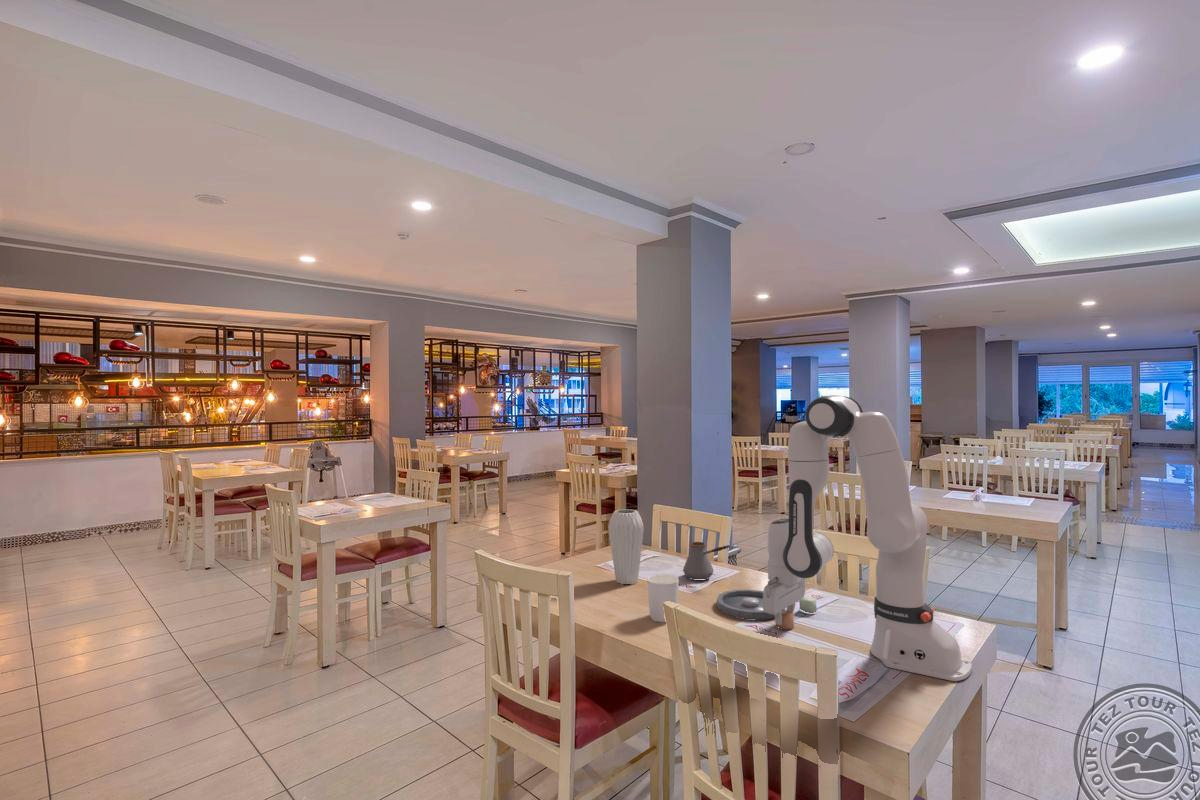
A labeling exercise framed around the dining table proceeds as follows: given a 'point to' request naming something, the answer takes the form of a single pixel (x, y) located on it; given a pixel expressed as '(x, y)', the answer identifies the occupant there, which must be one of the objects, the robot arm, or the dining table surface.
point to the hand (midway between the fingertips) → (784, 620)
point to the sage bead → (808, 604)
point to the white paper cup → (661, 594)
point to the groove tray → (738, 609)
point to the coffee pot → (699, 561)
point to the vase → (626, 544)
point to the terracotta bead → (787, 620)
